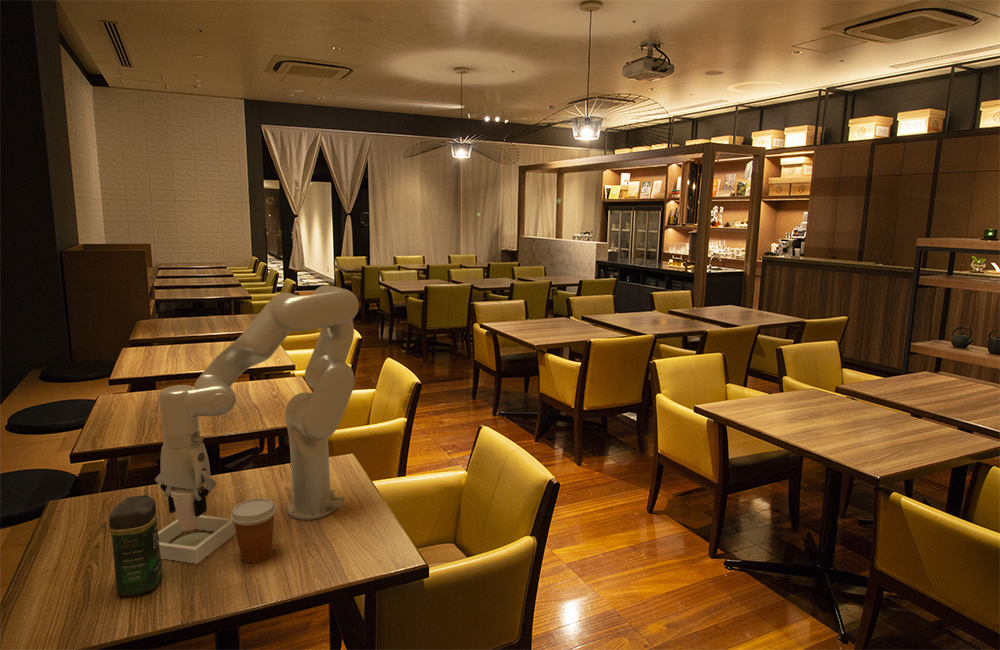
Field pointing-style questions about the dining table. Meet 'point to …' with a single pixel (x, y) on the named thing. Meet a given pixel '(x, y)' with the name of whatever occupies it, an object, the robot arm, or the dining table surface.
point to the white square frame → (190, 554)
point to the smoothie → (185, 508)
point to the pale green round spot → (191, 539)
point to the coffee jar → (135, 545)
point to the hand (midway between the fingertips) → (188, 511)
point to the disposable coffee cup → (254, 528)
